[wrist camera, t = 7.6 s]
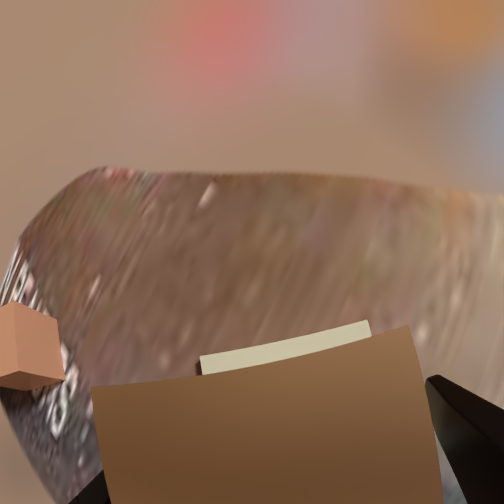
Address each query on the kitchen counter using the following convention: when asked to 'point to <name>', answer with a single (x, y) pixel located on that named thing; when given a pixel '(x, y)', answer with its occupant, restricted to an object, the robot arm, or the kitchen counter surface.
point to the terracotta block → (28, 348)
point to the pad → (284, 348)
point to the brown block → (277, 432)
